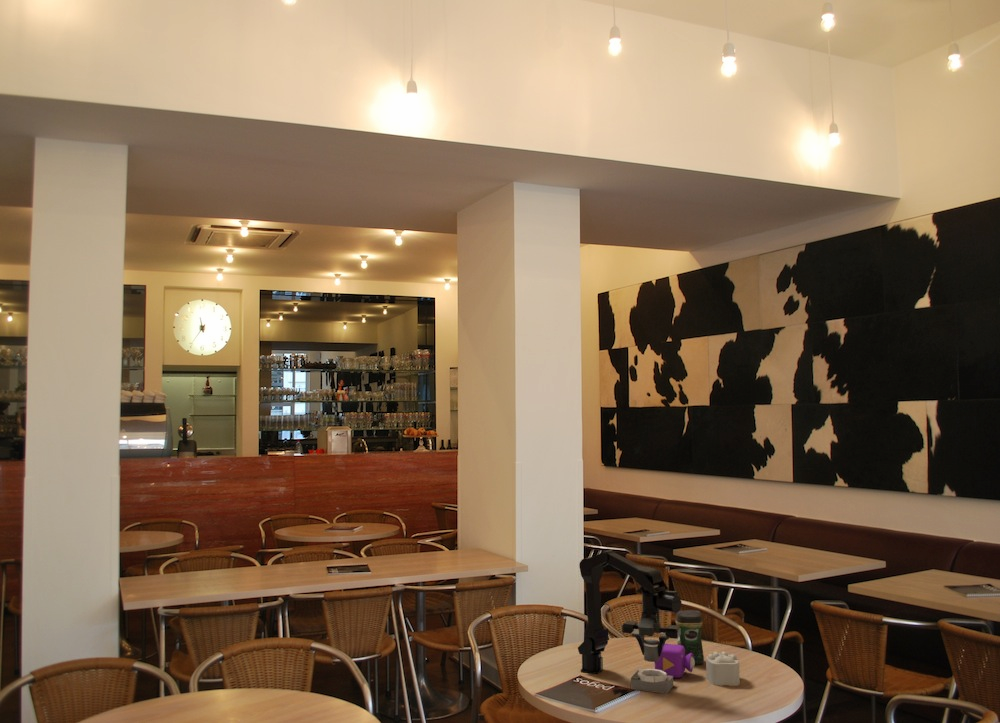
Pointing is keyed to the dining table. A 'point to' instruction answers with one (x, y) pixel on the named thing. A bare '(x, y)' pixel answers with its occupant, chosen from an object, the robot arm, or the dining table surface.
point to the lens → (651, 650)
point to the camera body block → (652, 680)
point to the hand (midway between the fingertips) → (651, 655)
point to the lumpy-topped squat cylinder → (722, 669)
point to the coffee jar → (691, 633)
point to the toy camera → (674, 660)
